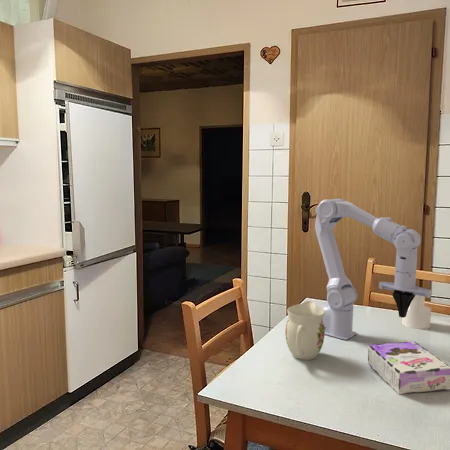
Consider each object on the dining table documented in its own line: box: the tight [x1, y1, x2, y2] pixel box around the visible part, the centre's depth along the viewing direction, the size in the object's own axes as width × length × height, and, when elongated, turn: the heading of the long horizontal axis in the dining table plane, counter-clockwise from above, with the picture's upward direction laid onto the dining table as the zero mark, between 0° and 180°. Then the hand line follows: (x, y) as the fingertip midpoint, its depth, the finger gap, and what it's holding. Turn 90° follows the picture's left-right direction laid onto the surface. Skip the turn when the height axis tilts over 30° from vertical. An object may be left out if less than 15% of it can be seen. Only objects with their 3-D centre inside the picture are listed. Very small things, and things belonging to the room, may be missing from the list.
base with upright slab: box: [401, 295, 432, 330], centre depth 158 cm, size 9×9×12 cm
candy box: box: [367, 340, 450, 395], centre depth 116 cm, size 14×6×16 cm
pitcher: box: [285, 300, 325, 361], centre depth 129 cm, size 11×18×14 cm, turn 160°
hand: (402, 316), depth 134 cm, fingers closed
